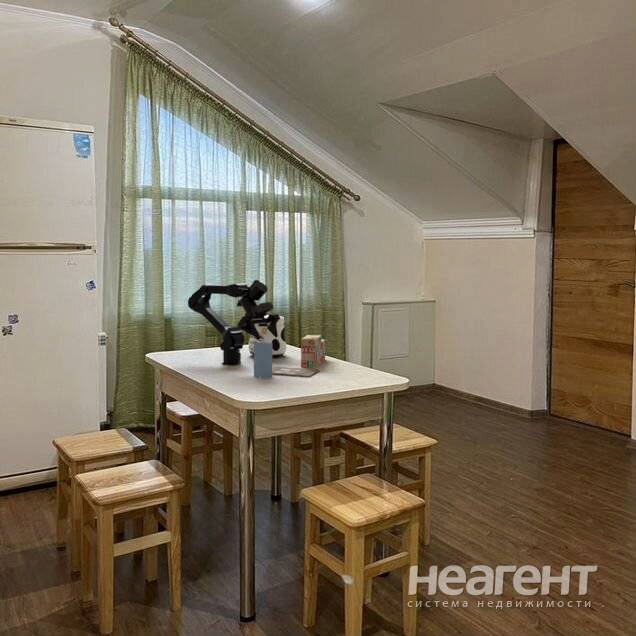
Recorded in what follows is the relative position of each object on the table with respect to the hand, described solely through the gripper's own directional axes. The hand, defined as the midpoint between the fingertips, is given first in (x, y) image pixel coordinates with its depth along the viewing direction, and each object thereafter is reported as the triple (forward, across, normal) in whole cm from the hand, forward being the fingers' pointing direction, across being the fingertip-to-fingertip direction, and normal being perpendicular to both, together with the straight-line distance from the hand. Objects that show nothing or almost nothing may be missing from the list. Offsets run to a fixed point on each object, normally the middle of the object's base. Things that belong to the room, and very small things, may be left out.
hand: (268, 337), depth 260 cm
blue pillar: (+15, -10, +4) cm, 18 cm away
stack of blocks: (+9, +27, +10) cm, 30 cm away
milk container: (-10, +24, +30) cm, 40 cm away
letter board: (+16, +4, +3) cm, 17 cm away
